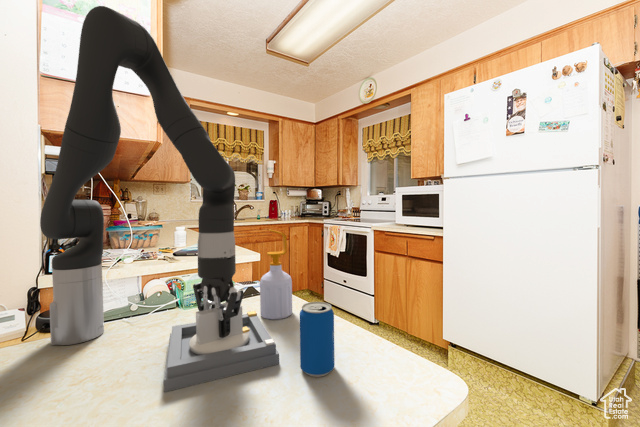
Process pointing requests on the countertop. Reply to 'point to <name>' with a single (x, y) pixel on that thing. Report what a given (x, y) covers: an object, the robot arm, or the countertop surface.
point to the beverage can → (317, 339)
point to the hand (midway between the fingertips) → (217, 333)
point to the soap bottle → (276, 288)
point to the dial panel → (217, 356)
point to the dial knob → (217, 333)
